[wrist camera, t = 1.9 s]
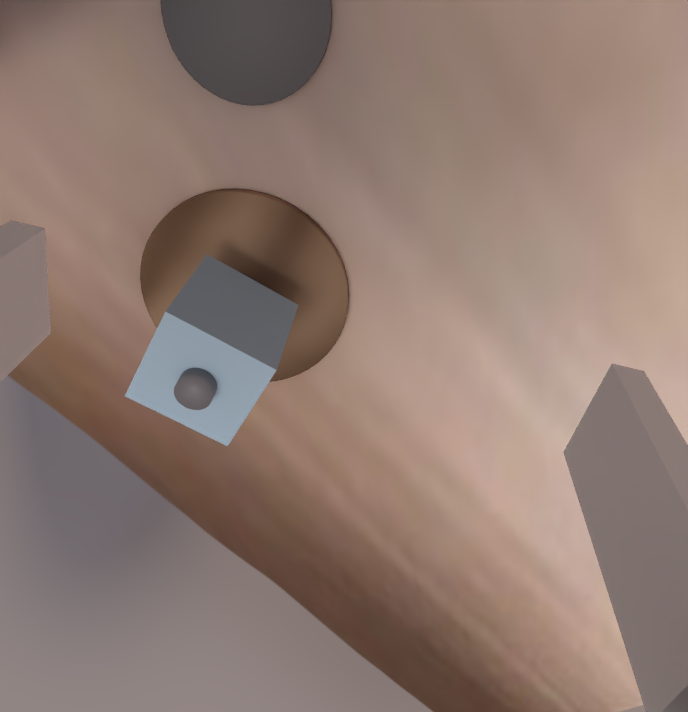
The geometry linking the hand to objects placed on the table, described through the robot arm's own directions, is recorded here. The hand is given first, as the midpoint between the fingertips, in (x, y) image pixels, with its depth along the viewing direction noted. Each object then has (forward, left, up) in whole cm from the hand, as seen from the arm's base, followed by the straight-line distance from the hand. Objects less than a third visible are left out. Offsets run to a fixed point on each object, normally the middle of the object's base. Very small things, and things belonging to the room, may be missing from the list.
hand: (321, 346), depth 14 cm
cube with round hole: (-2, -14, -21) cm, 25 cm away
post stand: (-2, -14, -25) cm, 28 cm away
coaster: (-9, +1, -25) cm, 26 cm away
